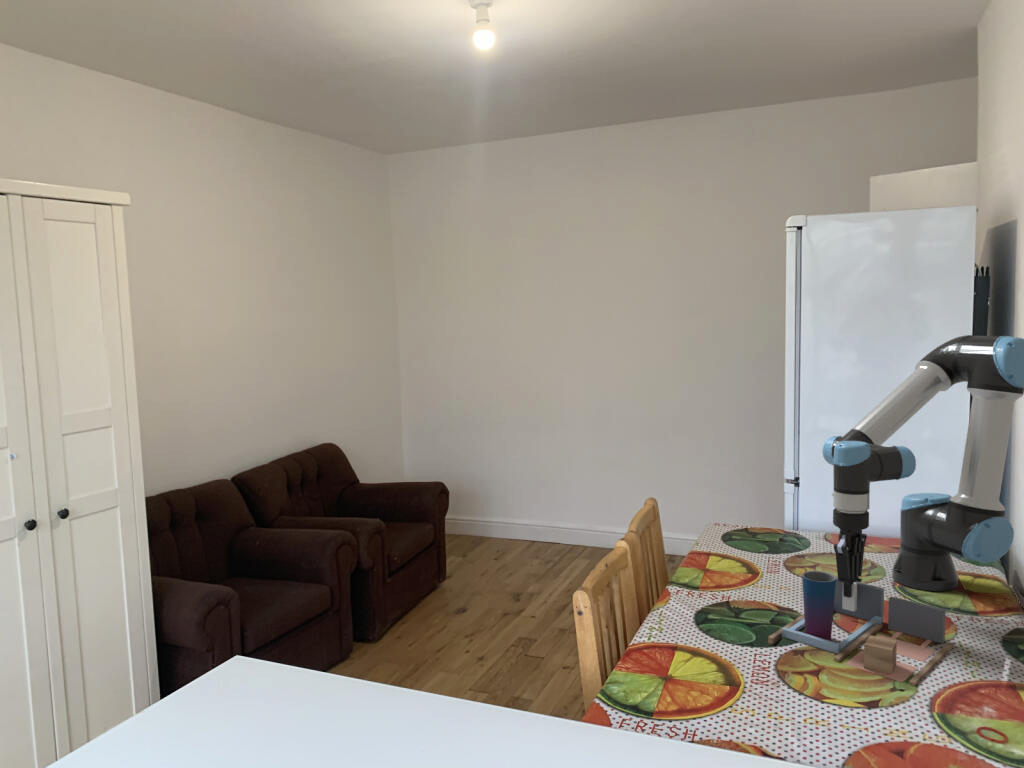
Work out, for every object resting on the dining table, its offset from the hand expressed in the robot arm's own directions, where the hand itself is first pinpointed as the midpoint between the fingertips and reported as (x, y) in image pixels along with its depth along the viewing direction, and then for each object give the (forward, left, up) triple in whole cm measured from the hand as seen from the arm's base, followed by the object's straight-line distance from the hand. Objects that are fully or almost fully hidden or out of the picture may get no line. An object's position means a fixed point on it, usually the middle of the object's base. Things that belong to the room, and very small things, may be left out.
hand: (849, 609), depth 176 cm
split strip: (+12, +14, -3) cm, 19 cm away
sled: (+8, 0, -3) cm, 9 cm away
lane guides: (+12, +7, -3) cm, 14 cm away
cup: (+16, 0, -3) cm, 16 cm away
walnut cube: (+20, +14, -2) cm, 25 cm away
